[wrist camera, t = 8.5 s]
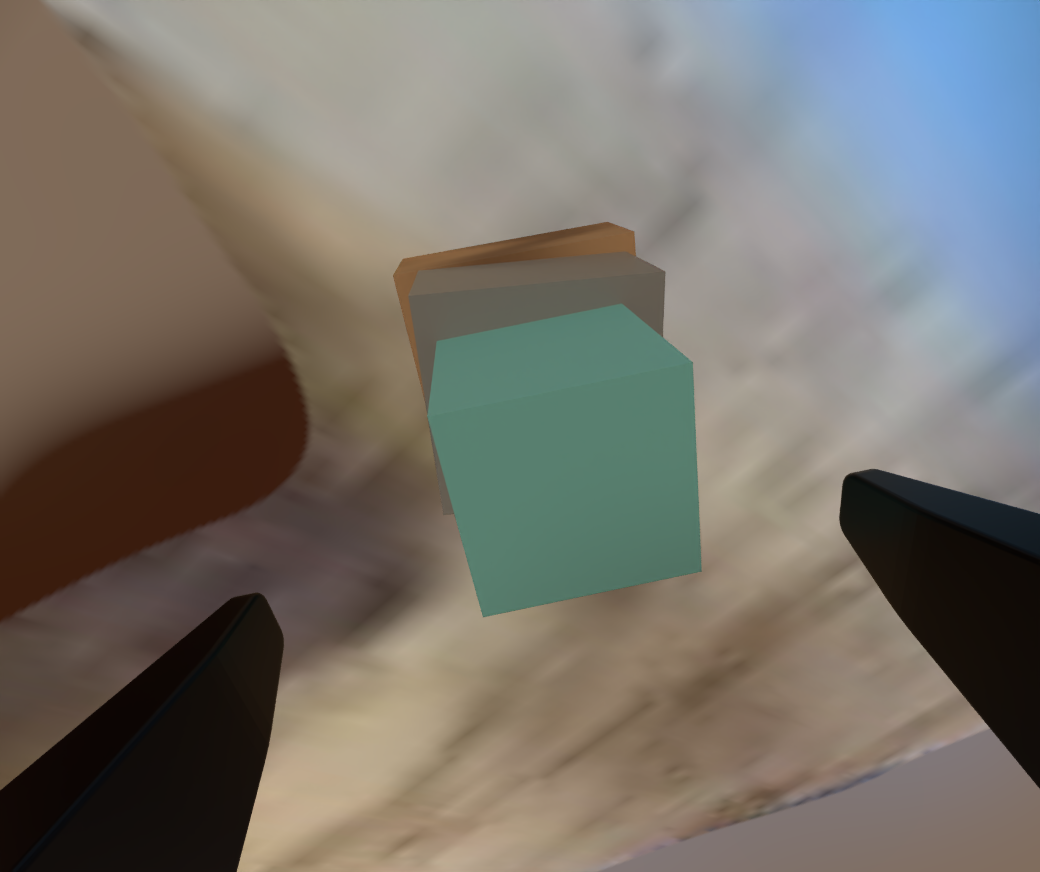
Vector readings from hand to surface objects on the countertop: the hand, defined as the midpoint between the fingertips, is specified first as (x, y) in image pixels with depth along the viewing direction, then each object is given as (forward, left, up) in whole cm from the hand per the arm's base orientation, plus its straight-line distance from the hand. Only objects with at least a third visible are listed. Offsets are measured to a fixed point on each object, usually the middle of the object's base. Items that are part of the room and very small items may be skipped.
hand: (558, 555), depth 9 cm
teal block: (-1, 0, -6) cm, 6 cm away
